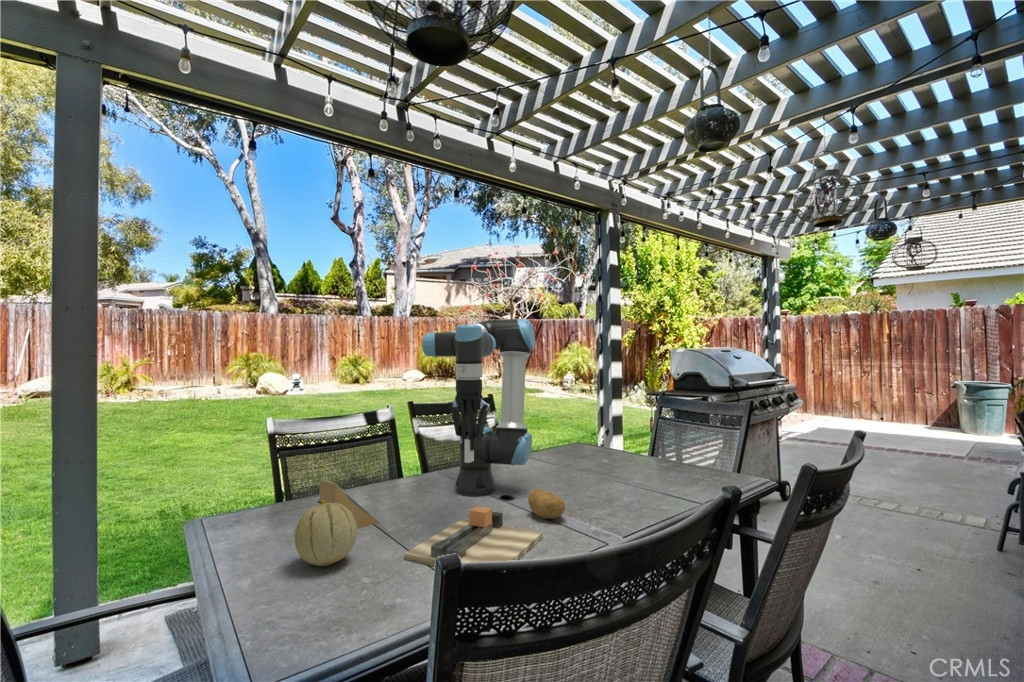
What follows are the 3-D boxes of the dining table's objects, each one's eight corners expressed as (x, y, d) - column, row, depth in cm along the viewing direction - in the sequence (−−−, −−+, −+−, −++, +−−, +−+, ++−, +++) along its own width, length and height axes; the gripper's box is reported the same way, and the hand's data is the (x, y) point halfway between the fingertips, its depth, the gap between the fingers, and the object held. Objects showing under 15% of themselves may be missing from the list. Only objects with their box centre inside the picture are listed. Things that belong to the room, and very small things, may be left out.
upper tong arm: (486, 526, 141) (486, 516, 141) (499, 528, 140) (499, 518, 140) (442, 558, 120) (442, 546, 120) (457, 561, 118) (457, 548, 118)
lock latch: (476, 520, 139) (476, 506, 140) (492, 523, 137) (492, 508, 137) (469, 524, 136) (469, 510, 136) (485, 527, 134) (485, 512, 134)
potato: (549, 527, 145) (549, 500, 145) (521, 514, 157) (521, 489, 157) (573, 520, 151) (573, 494, 151) (544, 508, 162) (544, 484, 162)
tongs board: (462, 523, 148) (462, 506, 148) (542, 537, 137) (542, 519, 137) (404, 559, 123) (404, 538, 123) (496, 580, 112) (496, 557, 112)
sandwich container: (380, 522, 150) (380, 473, 151) (335, 537, 138) (335, 483, 138) (363, 516, 156) (364, 468, 156) (319, 530, 144) (319, 478, 144)
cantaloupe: (329, 581, 112) (330, 514, 112) (279, 571, 117) (280, 507, 117) (369, 555, 125) (370, 496, 126) (323, 547, 131) (324, 490, 131)
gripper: (442, 378, 139) (442, 462, 139) (482, 380, 134) (483, 466, 134) (456, 377, 146) (456, 456, 146) (495, 378, 140) (495, 460, 140)
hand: (469, 461), depth 140 cm, fingers closed
